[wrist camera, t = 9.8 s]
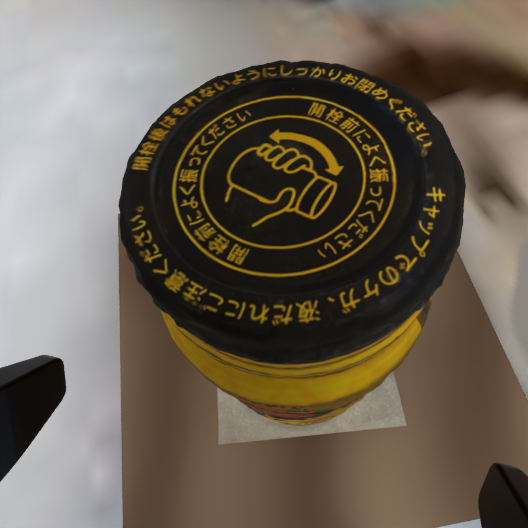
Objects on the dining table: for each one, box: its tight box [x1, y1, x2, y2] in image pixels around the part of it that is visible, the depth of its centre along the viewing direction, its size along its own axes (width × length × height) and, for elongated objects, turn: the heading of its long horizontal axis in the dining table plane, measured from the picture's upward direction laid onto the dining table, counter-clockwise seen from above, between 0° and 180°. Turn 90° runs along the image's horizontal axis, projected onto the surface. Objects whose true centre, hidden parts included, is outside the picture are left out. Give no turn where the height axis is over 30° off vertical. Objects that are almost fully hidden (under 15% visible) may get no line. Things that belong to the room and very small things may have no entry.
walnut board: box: [118, 214, 528, 528], centre depth 17 cm, size 16×16×1 cm
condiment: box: [119, 60, 466, 445], centre depth 11 cm, size 7×8×12 cm
